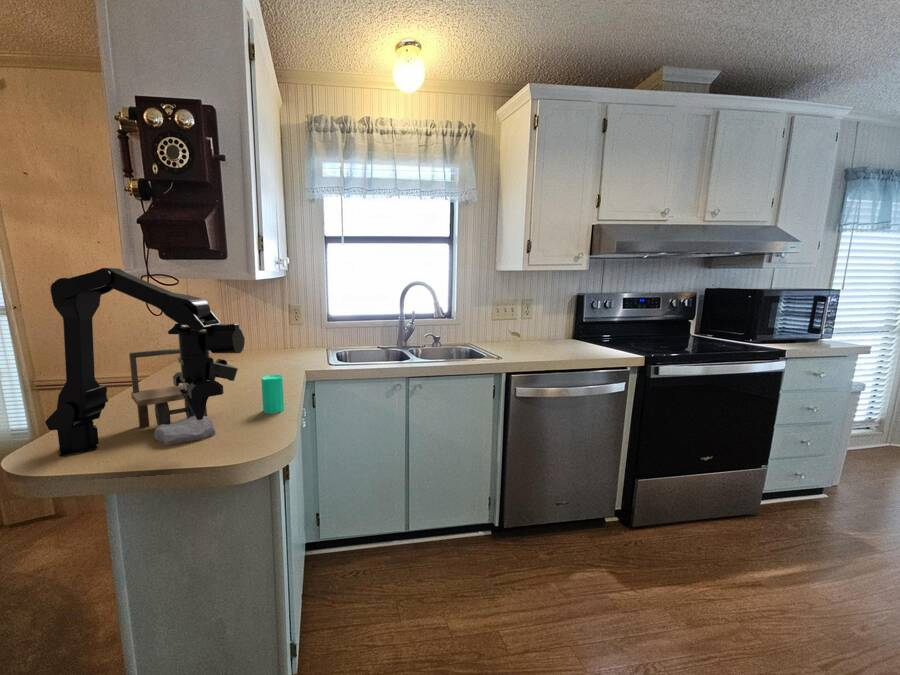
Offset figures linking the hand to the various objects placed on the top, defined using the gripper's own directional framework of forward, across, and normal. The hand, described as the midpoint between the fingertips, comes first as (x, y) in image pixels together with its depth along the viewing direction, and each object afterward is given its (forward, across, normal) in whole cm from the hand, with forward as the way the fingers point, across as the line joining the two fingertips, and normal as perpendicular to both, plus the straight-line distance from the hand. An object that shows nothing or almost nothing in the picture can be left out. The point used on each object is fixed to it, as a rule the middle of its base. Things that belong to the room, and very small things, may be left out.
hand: (199, 419), depth 99 cm
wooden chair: (+7, +24, 0) cm, 25 cm away
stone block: (+8, +11, +1) cm, 14 cm away
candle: (+7, +19, -24) cm, 31 cm away
